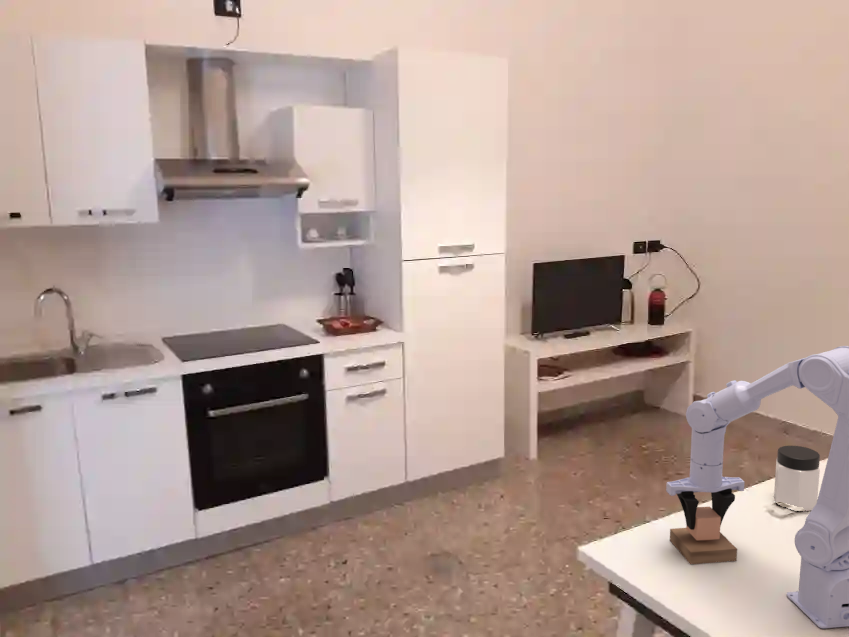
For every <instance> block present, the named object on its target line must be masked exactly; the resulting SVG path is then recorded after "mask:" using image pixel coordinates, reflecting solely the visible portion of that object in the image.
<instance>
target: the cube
mask: <svg viewBox="0 0 849 637" xmlns="http://www.w3.org/2000/svg"><path fill="white" fill-rule="evenodd" d="M720 523H721V517H720V516H719V515H718V514H717V513H716V512H715V511H714V510H713V509H712V506H697V510H696V518H695V528H694V530H691V529H690V528H689V527H688V526H687V525H686V524H685V525H686V527H685V528H686V529H687V530H688V531H689V533H690V534H691V535H692V536H693V537H694V538H695V539H696V540H713V539H720V532H721V526H720ZM721 524H722V523H721Z"/></svg>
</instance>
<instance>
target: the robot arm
mask: <svg viewBox="0 0 849 637" xmlns="http://www.w3.org/2000/svg"><path fill="white" fill-rule="evenodd" d="M725 385H726V387H725V388H723V389H721V390H719V391H716V392H715V391H712V392H709V393H707V395H706V397H707V398H704V399H702V400H695V401H693V402H692V403H691V404H690V405H688V406H687V408H686V412H685V419H686V421H687V423H688V425H689V427H690V428H691V438H690V439H691V440H690V460H689V461H690V464H689V467H690V468H689V477H684V478H681V479H677V480H672V481H667V482H666V488H665V489H666V490H665V491H666V493H668V494H669V496H670V497H671V496H677V498H678V500H679V503H680V505H681V507H682V511H683V513H684V519H685V523H686V524H685V525H687V526H688V527H689V528H690V529H691V530H694V528H695V518H696V510H697V507H699V503H700V501H699V500H698V499H697V497H696V495H695V494H694V493H710V495H711V508H712V509H713V510H714V511H715V512H716V513H717V514H718V515H719V516H720V517H721V523H720V527H721V526H722V523H723V520H724V517H725V515H726V513H727V511H728V510H729V508H730V507H731V505H733V503H734V502H735V499H736V495H735V494H734V493H733V491H734V490H735V491H738V492H744V491H745V483H746V482H745V481H744V480H743V479H742V478H741V477H730V476H723V467H724V450H725V449H724V447H725V434H726V431H727V426H728V425H729V424H731V423H732V422H733V421H736V420H738V419H740V418H742V417H744V416H746V415H748V414H751V413H753V412H755V411H758V409H759V408H760V406H761V402H762V400H763V399H765V398H767V397H769V396H772V395H774V394H776V393H779V392H780V391H784V390H786V389H787V388H790V387H792V386H793V387H796V388H797V389H801V390H802V389H804V388H806V389H807V391H809V392H810V393H811V394H812V395H814V396H815V397H817V398H818V399H819V400H821V401H822V402H823V403H825V404H826V405H827V406H828V407H829V408H831V410H833V411H834V412H835V414H837V421H836V426H835V429H834V433H833V438H832V440H831V445H830V449H829V453H828V457H827V460H826V465H825V469H824V473H823V477H822V481H821V484H820V489H819V491H818V498H817V503H816V505H815V506H814V508H813V509H812V511H809V513H808V514H807V516H806V518H805V521H804V524H803V526H802V527H801V528H800V529H799V530H797V532H796V533H795V536H794V545H795V549H796V551H797V553H798V554H799V555H800V567H799V569H800V570H799V580H798V581H799V582H798V590H797V591H788V592H786V596H787V598H789V599H790V601H791V602H793V603H794V604H795V605H796V606H797V607H798V609H800V610H801V611H802V612H803V614H805V615H806V616H807V617H808V618H809V619H810V621H812V622H813V623H814V624H815V626H817V627H818V628H820V629H832V628H833V629H834V628H843V627H849V345H841V346H837V347H835V348H833V349H831V350H828V351H824V352H819V353H817V354H810V355H809V356H808V355H807V357H803V358H800V359H797V360H793V361H789V362H787V363H785V364H783V365H781V366H780V367H777V368H776V369H774V370H773V371H770V372H769V373H767V374H765V375H764V376H762V377H760V378H759V379H757V380H755V381H752V382H748V381H745V380H739V381H737V380H731V381H728V382H727V383H726V384H725Z"/></svg>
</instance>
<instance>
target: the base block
mask: <svg viewBox="0 0 849 637" xmlns="http://www.w3.org/2000/svg"><path fill="white" fill-rule="evenodd" d="M669 541H670V542H671V543H672V545H673V546H674V547H675V548H676V549H677V551H678V550H679V551H678V552H679V553H680V554H681V555H682V556H683V558H684V560H686V562H688V564H690V565H699V564H702V565H703V564H713V563H727V561H729V562H737V554H738V547H736V546H735V545H734V544H733V543H732V542H731V541H730V540H729V539H728V538H727V537H726V536H725V534H723V533H722V532H721V531H720V539H713V540H696V539H695V538H694V537H693V536H692V535H691V534H690V533H689V531H688V530H687V529H686V527H677V528H669Z"/></svg>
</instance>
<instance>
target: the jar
mask: <svg viewBox="0 0 849 637" xmlns="http://www.w3.org/2000/svg"><path fill="white" fill-rule="evenodd" d="M776 456H777V457H776V460H775V461H776V462H775V464H776V465H775V475H774V476H775V477H774V491H773V497H774V498H773V499H774V501H776V502H783V503H787V504H790V505H794V506H797V507H803V508H804V510H806V511H805V512H811V511H812V509H813V508H814V506H815V505H816V503H817V500H818V496H819V487H820V486H819V485H820V483H819V482H820V473H821V471H820V459H821V455H820V453H819V452H817V451H816V450H814V449H812V448H808V447H806V446H799V445H783V446H780V447H779V448H777V455H776ZM776 502H775V503H776Z"/></svg>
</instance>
